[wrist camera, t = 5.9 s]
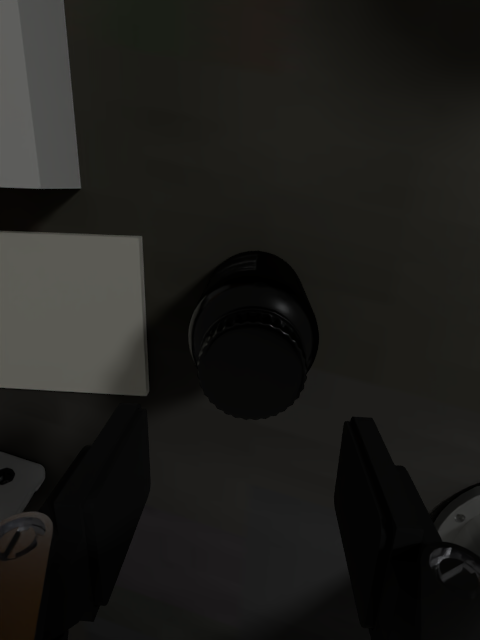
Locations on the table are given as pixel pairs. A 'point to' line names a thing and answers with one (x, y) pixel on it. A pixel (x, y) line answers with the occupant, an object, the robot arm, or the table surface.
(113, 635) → the table surface
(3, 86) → the box
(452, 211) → the table surface
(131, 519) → the robot arm
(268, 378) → the supplement bottle
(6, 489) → the electrical switch
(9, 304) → the pad
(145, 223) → the table surface
